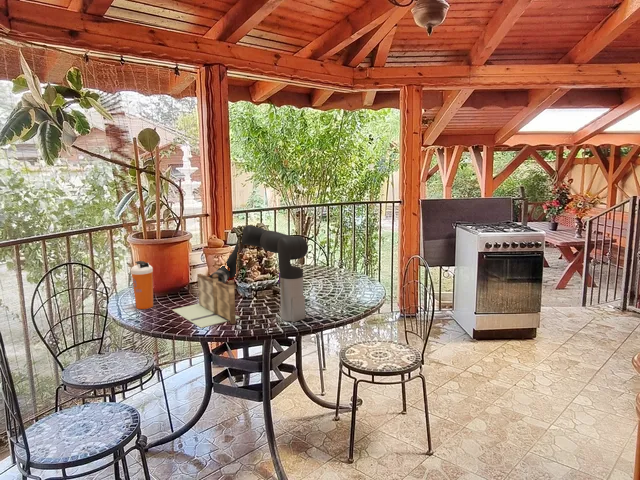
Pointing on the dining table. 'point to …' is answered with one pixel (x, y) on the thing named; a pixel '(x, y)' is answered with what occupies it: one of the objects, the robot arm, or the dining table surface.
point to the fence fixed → (224, 299)
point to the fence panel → (206, 291)
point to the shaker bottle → (143, 284)
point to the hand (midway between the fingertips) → (205, 289)
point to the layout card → (200, 315)
